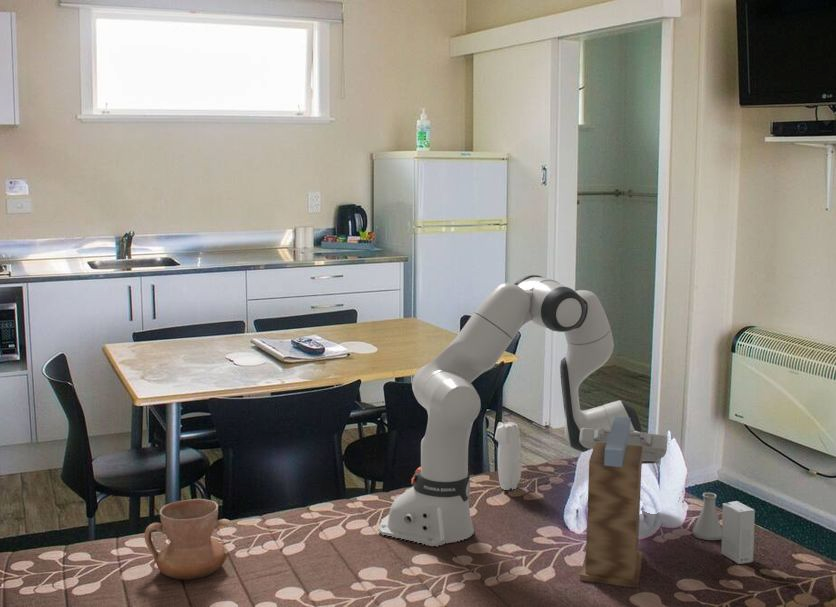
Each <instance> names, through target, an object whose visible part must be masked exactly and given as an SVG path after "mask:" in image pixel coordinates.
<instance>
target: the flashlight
mask: <svg viewBox="0 0 836 607" xmlns="http://www.w3.org/2000/svg"><path fill="white" fill-rule="evenodd" d="M520 435H521V432H520V429H519V427H518V424H517V423H515V422H513V421H507V422H501V421H499V422H498V423H497V426H496V430H495V435H494V440H495V441H496V442H498V448H497V473H498V481H499V482H498V483H499V486H500V487H501V488H502V489H505V490H509V491H510V490H511V491H512V490H513V489H515V490H516V489H517V488H518V484H519V483H520V481H521V476H522V460H523V455H522V443H521V438H520ZM501 488H500V489H501ZM502 489H501V490H502ZM513 491H514V490H513Z"/></svg>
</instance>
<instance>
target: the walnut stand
mask: <svg viewBox="0 0 836 607" xmlns="http://www.w3.org/2000/svg"><path fill="white" fill-rule="evenodd" d="M606 444H607V443H602V442H596V443H595V446H594V449H592V451H591V454H590V458H589V460H588V483H587V484H588V488H587V510H586V511H587V515H586V516H587V517H586V541H585V542H586V543H585V544H586V545H585V546H586V547H585V554H584V555H585V556H584V559H583V563H582V567H581V571H580V574H579V581H584V582H590V583H591V582H593V583H598V584H607V585H612V586H613V585H614V586H623V587H629V588H634V589H635V588H636V589H639V585H640V584H639V583H640V577H641V571H642V570H641V569H642V564H643V557H644V556H643V554H644V553H643V552H642V551H639V533H640V531H639V529H640V512H641V508H640V507H641V490H642V489H641V487H642V486H641V485H642V467H643V466H642V465H643V464H642V446H635V445H627V447H626V452H625V456H624V460H623V464H622V467H615V466H604V459H605V447H606Z"/></svg>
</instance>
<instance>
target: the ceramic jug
mask: <svg viewBox="0 0 836 607" xmlns="http://www.w3.org/2000/svg"><path fill="white" fill-rule="evenodd" d="M158 511H159V512H158V513H159V518H160V522H152V523H150V524H149V525H148V526H146V528H145V530H144V542H145V544H146V547H147V548H148V550H149V551H150V553H151V554H152V556H153V560H154V562H155V564H156V566H157V568H158V570H159V571H160V572H161V573H162V574H163V575H165V576H167V577H169V578H173V579H177V580H195V579H200V578H204V577H207V576H209V575H212V574H213V573H215V572H216V571H218V570H219V569H220V568H222V566H223V565H224V563H225V562H226V561H227V559H228V557H229V553H230V552H229V550H228V548H227V549H226V547H225V546H224V545H223V544H222V543H221V542H220V541H218V540H216V539H214V538H212V535H213V533H214V531H215V530H216V529H217V528H219V527H222V526H223V527H227V528H228V527H229V524H230V522H231V521H230V520H229V519H228V518H227V519H226V518H222V519H218V516H219V505H218V503H217V502H216V501H214V500H211V499H206V498H193V499H185V500H177V501H174V502H171V503H170V502H169V503H168V504H165V505H163V506H162V507H161V508H160V509H159V510H158ZM153 531H157V532H160V533H162V534H163V535H166V536H167V538H168V541H169V544H167V545H166V546H165V547H164V548H162V549H161V550H160V552H158V551H157V549H156V547H155V545H154V543H153V539H152V532H153Z"/></svg>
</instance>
